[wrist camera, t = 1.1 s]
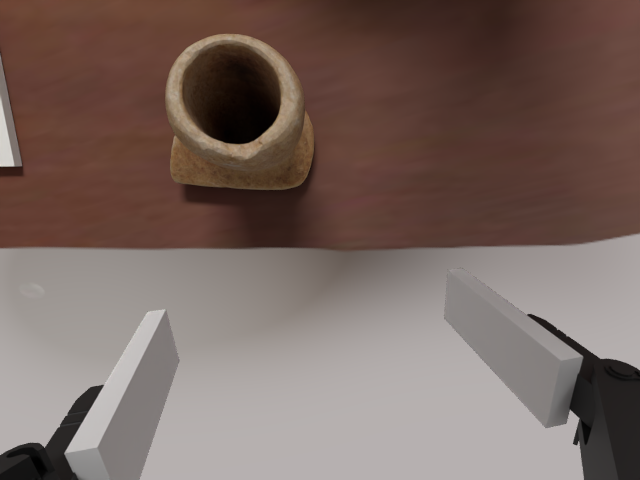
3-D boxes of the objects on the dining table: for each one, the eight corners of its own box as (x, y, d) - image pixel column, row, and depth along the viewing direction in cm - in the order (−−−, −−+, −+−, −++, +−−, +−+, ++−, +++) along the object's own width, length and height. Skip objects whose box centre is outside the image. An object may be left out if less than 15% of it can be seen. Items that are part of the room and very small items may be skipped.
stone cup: (319, 85, 37) (320, 31, 22) (310, 194, 39) (305, 210, 25) (180, 72, 37) (88, 8, 22) (180, 182, 39) (97, 191, 24)
